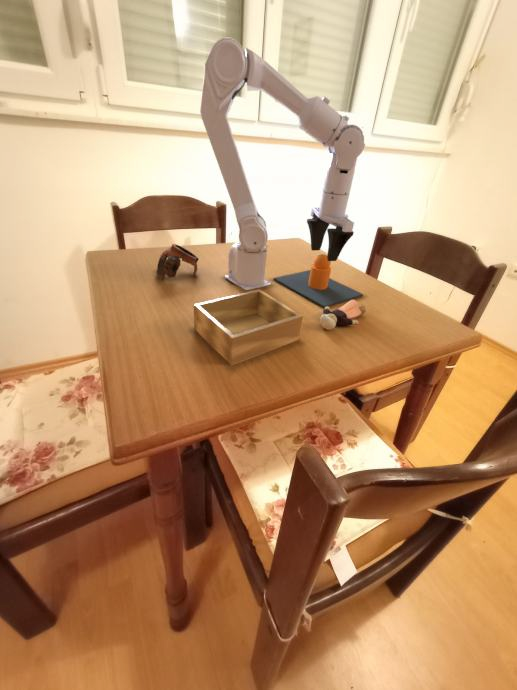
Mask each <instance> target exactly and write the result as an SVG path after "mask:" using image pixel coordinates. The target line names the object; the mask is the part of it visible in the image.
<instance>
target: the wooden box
mask: <svg viewBox="0 0 517 690" xmlns="http://www.w3.org/2000/svg"><path fill="white" fill-rule="evenodd" d="M303 318H304V317H303V315H302V314H300V313H299V312H297V311H295V310H294V309H292V308H290V307H289V306H287V305H286V304H284V303H282V302H281V301H279V300H277V299H276V298H274V297H273V296H272V295H270V294H268V293H266V292H265V291H263V290H262V289H261V288H257V289H252V290H248V291H245V292H241V293H237V294H233V295H228V296H224V297H220V298H215V299H211V300H206V301H203V302H198V303H194V304H193V329H194V331H196V332H197V333H198V334H199V336H201V337H202V339H204V340H205V341H206V342H207V343H208V344H209V345H210V346H211V347H212V348H213V349H214V350H215V351H216V352H217V353H218V354H219V355H220V356H221V357H222V358H223V359H224V360H225V361H226V362H227V363H228V364H229V365H231V366H233V365H236V364H238V363H242V362H243V361H247V360H249V359H252V358H255V357H257V356H259V355H262V354H265V353H268V352H271V351H273V350H276V349H278V348H281V347H284V346H286V345H289V344H291V343H292V344H293V343H295V342H297V341H299V340H300V339H299V338H300V332H301V327H302V322H303Z"/></svg>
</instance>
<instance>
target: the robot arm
mask: <svg viewBox="0 0 517 690" xmlns="http://www.w3.org/2000/svg"><path fill="white" fill-rule="evenodd" d="M245 85H246V90H247V91H249V92H251V91H252V92H255V91H257V92H258V91H259V92H260V91H262V92H263V93H265V94H266V95H268V96H269V97H270V98H272V99H273V100H275V101H276V102H277V103H278V104H280V105H282V106H283V107H284V108H286V109H287V110H288V111H290V112H291V113H293V114H294V115H295V116H296V117H297V120H298V127H299V129H300V130H301V131H303V132H304V133H305V134H307V135H308V136H309V137H311V138H312V139H313V140H314V141H316V142H317V143H318V144H320V145H321V146H322V147H323V148H327V150H328V153H329V158H328V164H327V167H326V171H325V176H324V183H323V188H322V192H321V198H320V205H319V207H311V212H310V217H312V218H307V219H306V223H307V226H308V229H309V236H310V249H311V251H321V248H322V245H323V241H324V238H325V235H326V233H327V236H328V237H327V238H328V248H327V254H326V255H327V260H328V261H331V262H337V260H338V259H339V256H340V254H341V253H342V250H343V248H344V247H345V245H346V244H347V243H348V241H349V240H350V239H351V238H352V237H353V236H354V234H355V233H354V231H353V230H354V229H353V228H354V225H355V222H354V221H352V220H350V218H348V217H349V215H348V214H346V211H347V208H348V207H347V206H348V202H349V198H350V192H351V189H352V185H353V180H354V175H355V171H356V165H357V161H358V157H359V156H360V155H362V153H363V151H364V150H365V146H366V143H365V135H364V133H363V130H362V129H361V128H360V127H359V126H358V125H356V124H348V122H349V120H350V117H349V116H347V115H346V114H344V115H342V114H340V113H339V112H338V111H337V110H335V109H334V108H333V107H332V106H331V105H329V104H330V102H331V100H330V99H329V98H328V97H326V96H323V97H322V98H321V97H320V96H319V95H315V96H312V97H309V98H308V97H306V96H305V95H304V94H303V93H302V92H301V91H300V90H299V89H298V88H297V87H296V86H294V85H293V84H292V83H291V82H290V81H289V80H288V79H286V78H285V76H284V75H282V74H281V73H279V72H278V70H276V69H275V68H274V67H273V66H272V65H271V64H270V63H268V61H266V60H265V59H264V58H262V57H261V56H260V55H258V54H257V53H256V52H254V51H253V50H252V49H249V48H248V47H245V49H244V47H243V46H242V44H241V43H240V42H239V41H237V40H236V39H234V38H232V37H229V36H228V37H226V36H225V37H222V38H219V39H218V40H217V41H215V43H214V44H213V46H212V47H211V49H210V52H209V53H208V56H207V58H206V60H205V63H204V66H203V83H202V91H201V92H202V93H201V99H200V108H199V113H200V116H201V120H202V123H203V126H204V129H205V131H206V134H207V137H208V140H209V143H210V146H211V148H212V151H213V154H214V157H215V159H216V162H217V165H218V167H219V171H220V173H221V176H222V179H223V182H224V184H225V185H224V186H225V187H226V190H227V193H228V195H229V198H230V202H231V204H232V207H233V209H234V215H235V218H236V223H237V225H238V230H239V231H238V241H237V242H235V243H234V244H232V245H231V247H230V249H229V252H228V266H227V267H228V269H227V275H225V276H224V278H225V279H226V280H228V281H229V282H231V283H233V284H234V285H237V286H238V287H240V288H241V289H243V290H244V291H251V290H255V289H260V288H263V287H267V286H270V285H272V282H269V281H268V280H266V279H265V277H266V276H265V275H266V265H267V256H268V255H267V254H268V245H267V242H268V238H269V235H268V230H267V224H266V223H267V222H266V221H265V219H264V217H263V216H262V215H261V214H260V213H259V211H258V208H257V205H256V203H255V200H254V198H253V194H252V191H251V188H250V185H249V181H248V179H247V176H246V173H245V172H246V171H245V170H244V169H245V168H244V166H243V163H242V160H241V156H240V154H239V151H238V147H237V144H236V141H235V138H234V135H233V132H232V128H231V126H230V123H229V119H228V115H229V112H230V110H231V107H232V105H233V103H234V100H235V98H236V97H237V95H238V94H239V93H240V92H241V91H242V89H243V88H244V86H245ZM330 225H331V226H334V228H329V226H330Z"/></svg>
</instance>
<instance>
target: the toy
mask: <svg viewBox="0 0 517 690" xmlns="http://www.w3.org/2000/svg"><path fill="white" fill-rule="evenodd" d="M327 255H328V254H324V253H323V254H322V253H321V254H318V255H317V256H316V257H315V258H314V260H313V263H312V264H311V265H310V266H311V267H310V270H311V272H310V277H309V283H308V285H309V287H311V288H313V289H318V290H323V289H326V288H327V285H328V281H329V278H330V277H331V272H332V267H331V264H332V263H331V262H332V261H328V260H327Z"/></svg>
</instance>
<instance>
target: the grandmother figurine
mask: <svg viewBox="0 0 517 690" xmlns="http://www.w3.org/2000/svg"><path fill="white" fill-rule="evenodd" d="M366 312H367V306H366V305H365V304H359V303H358V301H357V300H356V299H351V300H348V301H347V302H346V303H345V304H343V305H342V306H340V307H339V308H337V309H334V310H332V311H331V307H330V306H329V307H328V306H326V307H325V308H323V311H322V313H323V314H322V315H321V316H320V319H319V320H320V321H319V322H320V326H321V327H322V329H325V330H326V331H331V330H333V329H334V328H335V327H336V326H337V325H344V326H357V325H359V320H358V319H355V318H357V317H362V316H363V315H364V314H365V313H366Z"/></svg>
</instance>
